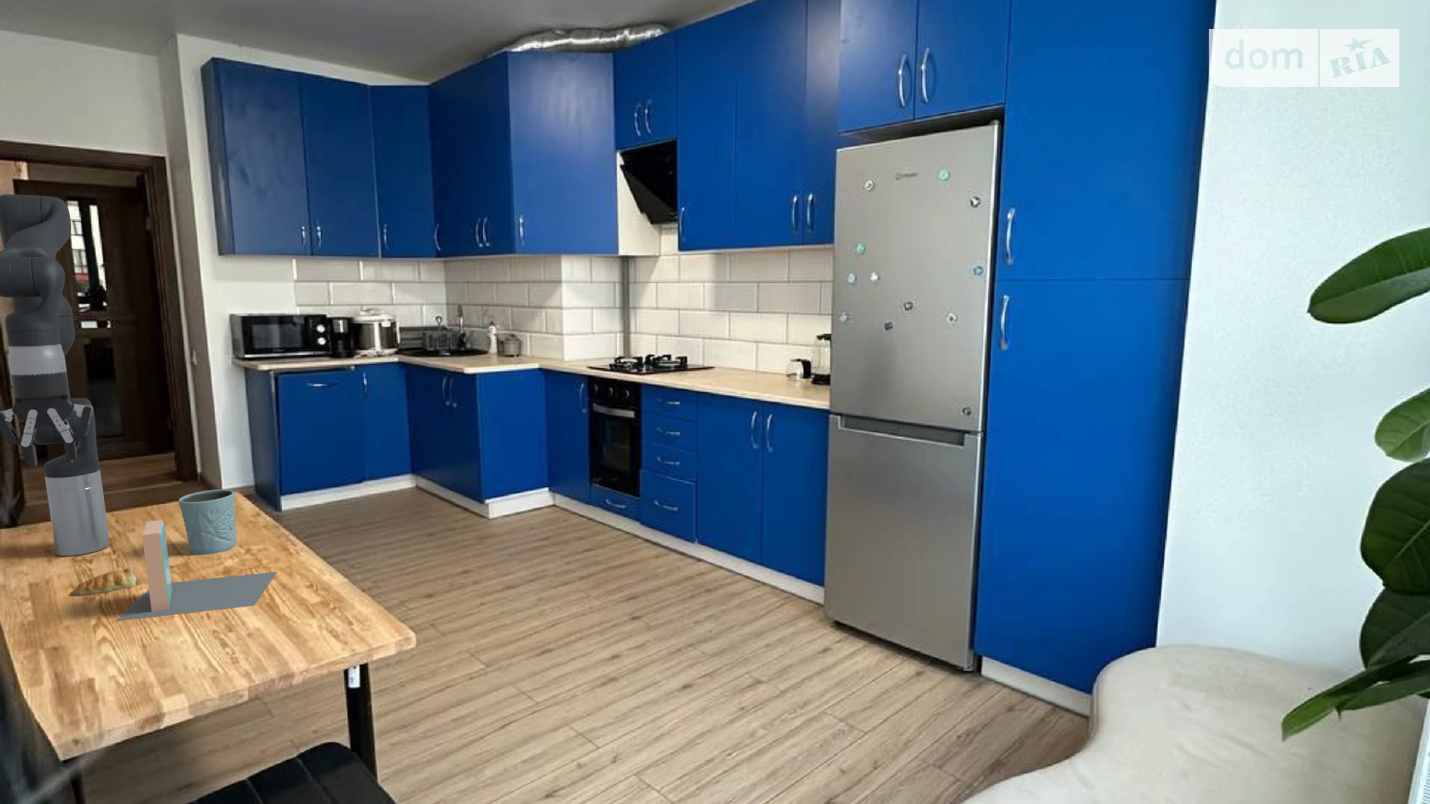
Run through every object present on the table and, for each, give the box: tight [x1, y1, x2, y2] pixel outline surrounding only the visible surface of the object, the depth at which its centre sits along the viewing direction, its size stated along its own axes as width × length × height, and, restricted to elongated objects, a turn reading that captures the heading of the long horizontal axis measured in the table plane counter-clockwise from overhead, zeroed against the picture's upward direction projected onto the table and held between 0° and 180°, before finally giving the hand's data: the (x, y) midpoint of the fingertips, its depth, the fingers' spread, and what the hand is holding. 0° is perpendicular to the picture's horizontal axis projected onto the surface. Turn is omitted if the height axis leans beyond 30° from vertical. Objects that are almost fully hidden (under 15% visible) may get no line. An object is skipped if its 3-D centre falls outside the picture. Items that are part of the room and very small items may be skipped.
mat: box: [115, 571, 278, 622], centre depth 142 cm, size 17×21×1 cm
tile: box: [141, 519, 172, 612], centre depth 138 cm, size 2×9×14 cm, turn 32°
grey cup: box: [178, 489, 237, 556], centre depth 168 cm, size 10×10×12 cm
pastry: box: [73, 567, 137, 597], centre depth 146 cm, size 9×7×4 cm
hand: (51, 463), depth 139 cm, fingers open, 4 cm apart
